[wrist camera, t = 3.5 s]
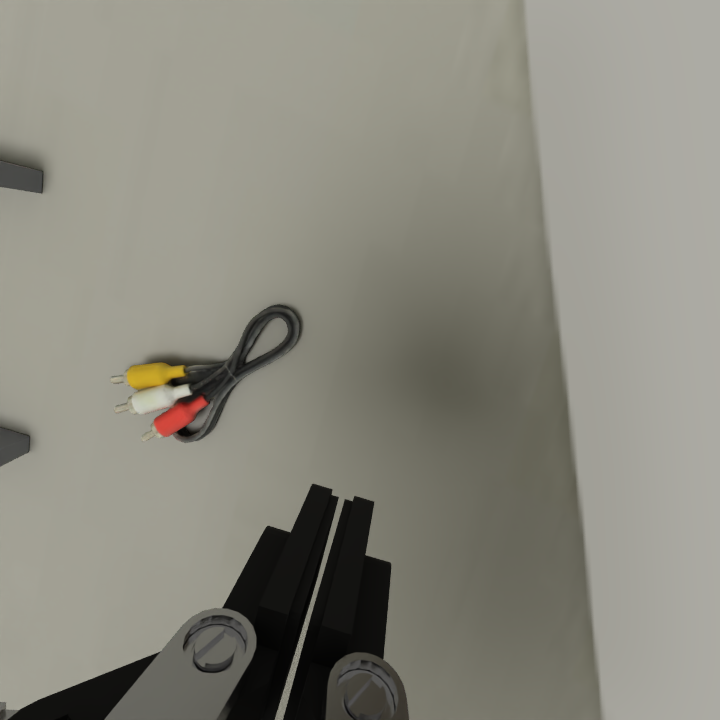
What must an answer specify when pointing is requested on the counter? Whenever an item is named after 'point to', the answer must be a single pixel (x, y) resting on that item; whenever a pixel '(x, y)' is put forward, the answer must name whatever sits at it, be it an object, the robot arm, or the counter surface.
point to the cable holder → (3, 442)
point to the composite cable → (199, 381)
